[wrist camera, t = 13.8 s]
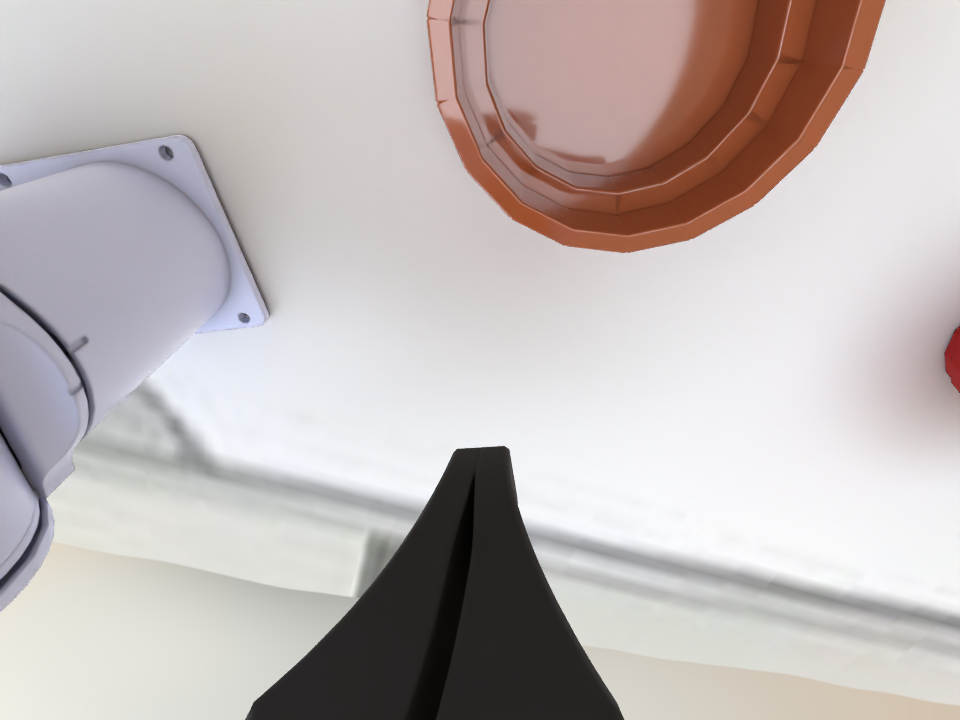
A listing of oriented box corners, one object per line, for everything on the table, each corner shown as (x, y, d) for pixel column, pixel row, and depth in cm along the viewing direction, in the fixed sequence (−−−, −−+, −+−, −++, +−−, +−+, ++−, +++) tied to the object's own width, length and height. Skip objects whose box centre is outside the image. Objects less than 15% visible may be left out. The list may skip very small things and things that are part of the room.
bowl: (652, 254, 20) (685, 307, 16) (400, 122, 18) (368, 148, 14) (882, -63, 14) (1016, -96, 10) (552, -311, 12) (570, -467, 8)
